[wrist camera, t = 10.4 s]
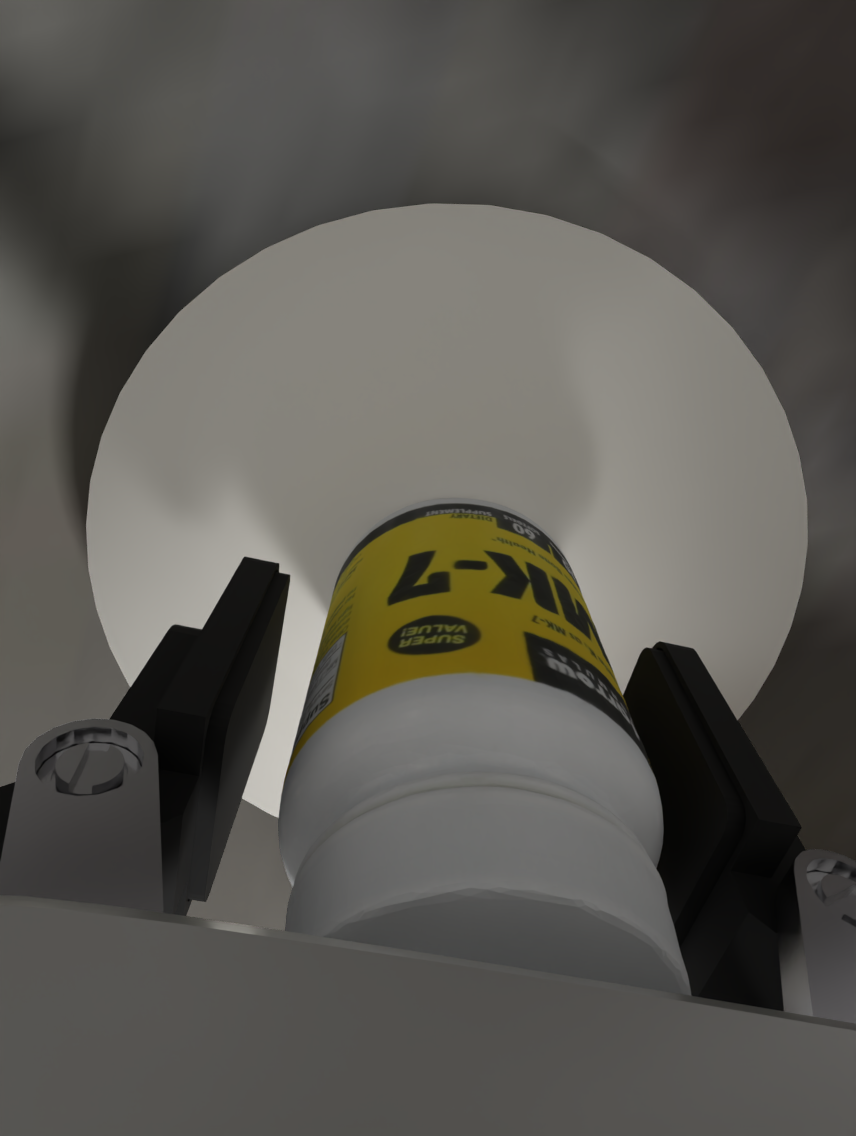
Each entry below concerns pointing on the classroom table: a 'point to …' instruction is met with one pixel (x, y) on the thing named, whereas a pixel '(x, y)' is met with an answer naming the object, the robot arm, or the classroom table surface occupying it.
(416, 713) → the supplement bottle
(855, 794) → the classroom table surface
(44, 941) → the robot arm
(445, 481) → the dish
